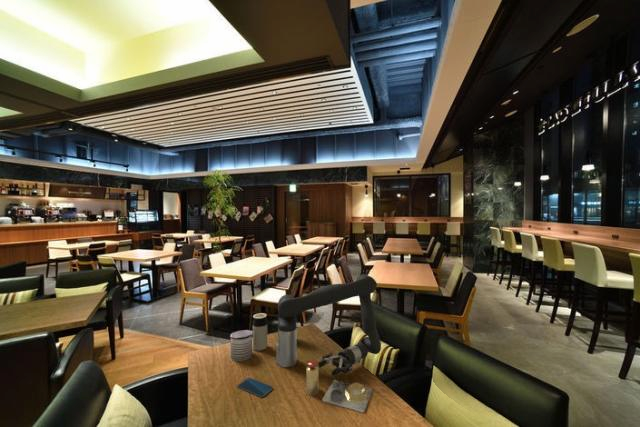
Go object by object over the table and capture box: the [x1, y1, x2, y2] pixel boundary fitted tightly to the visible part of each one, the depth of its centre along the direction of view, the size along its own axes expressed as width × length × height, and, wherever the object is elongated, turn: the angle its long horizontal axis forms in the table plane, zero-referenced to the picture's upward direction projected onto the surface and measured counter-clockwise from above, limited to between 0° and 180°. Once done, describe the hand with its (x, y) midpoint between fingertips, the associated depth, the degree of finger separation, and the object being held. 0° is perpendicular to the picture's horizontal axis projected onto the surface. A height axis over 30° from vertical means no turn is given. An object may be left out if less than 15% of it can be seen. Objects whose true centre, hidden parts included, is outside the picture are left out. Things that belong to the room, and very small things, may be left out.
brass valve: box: [305, 359, 320, 397], centre depth 116 cm, size 5×5×12 cm
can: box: [229, 329, 253, 362], centre depth 146 cm, size 11×11×12 cm
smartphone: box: [236, 377, 274, 399], centre depth 118 cm, size 8×15×1 cm, turn 60°
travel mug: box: [252, 312, 268, 352], centre depth 154 cm, size 8×8×18 cm
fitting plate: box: [321, 379, 373, 414], centre depth 113 cm, size 17×14×2 cm
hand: (325, 369), depth 121 cm, fingers open, 8 cm apart
